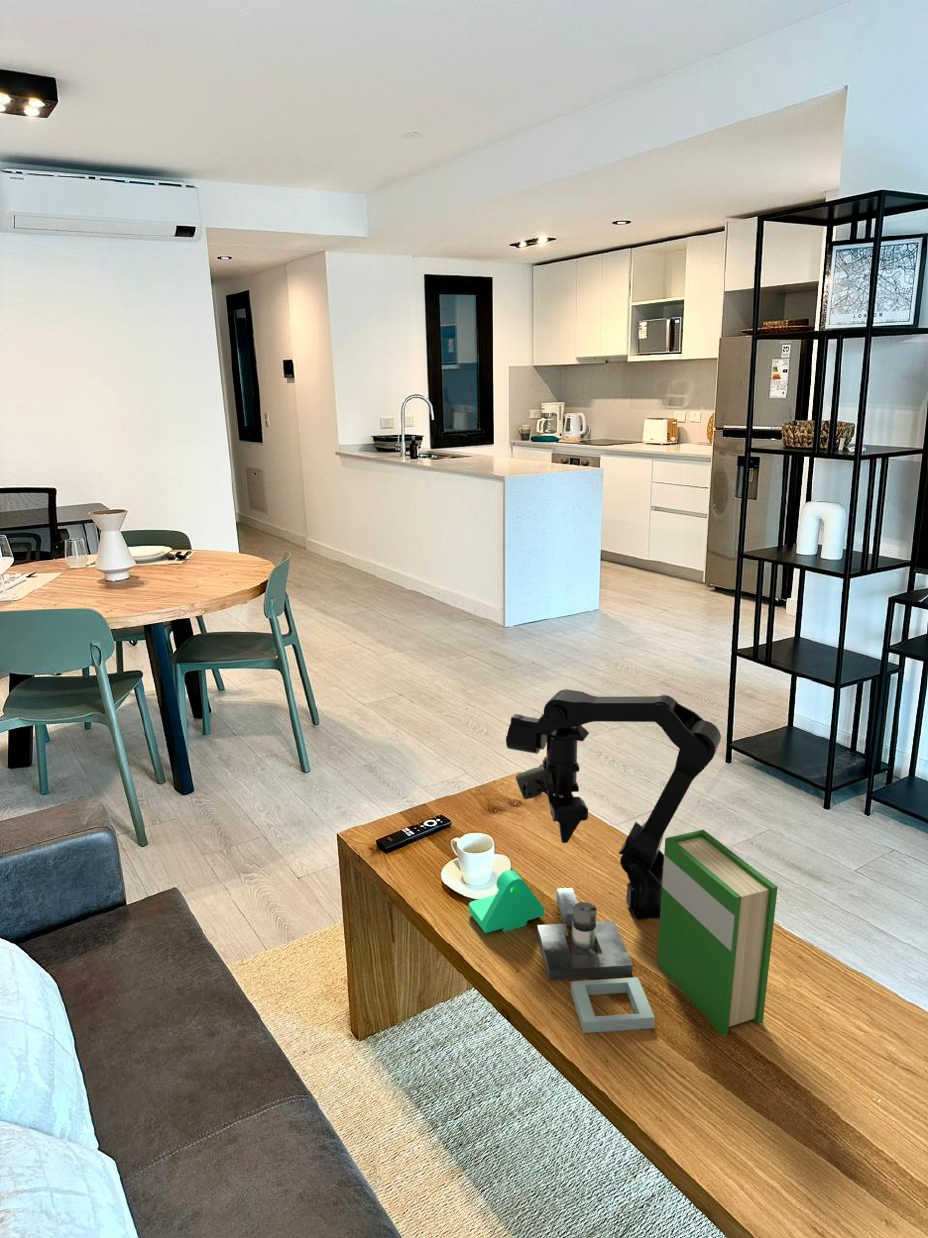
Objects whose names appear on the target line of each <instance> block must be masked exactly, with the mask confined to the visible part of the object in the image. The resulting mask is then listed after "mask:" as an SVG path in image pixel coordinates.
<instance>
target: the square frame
mask: <svg viewBox="0 0 928 1238" xmlns="http://www.w3.org/2000/svg"><path fill="white" fill-rule="evenodd" d="M570 993H571V997H572V1000H573V1003H574V1007H575V1011H576V1014H577V1016H578V1017H577V1018H578V1021H579V1023H580V1027H581V1030H582V1033H583V1034H588V1033H589V1034H590V1033H605V1032H615V1031H616V1032H619V1031H633V1030H635V1031H636V1030H646V1029H655V1019H656V1018H655V1015H654V1012H653V1010H652V1008H651V1005H650V1002H649V1001H648V998H647V996H646V993H645V991H644V988H643V985H642V984H641V981H640V979H639V977H635V976H634V977H622V978H608V979H607V978H606V979H605V978H604V979H590V980H577V981H576V980H574V981H570ZM611 994H613V995H614V994H627V996H628V1000H629V1001H630V1004H631V1006H632V1010H633V1012H634V1013H627V1014H626V1013H625V1014H615V1015H614V1014H613V1015H611V1014H610V1015H598V1016H596V1015H595V1012H594V1009H593V1007H592V1006H593V1005H592V1003H591V1000H590V997H589V996H598V995H611Z"/></svg>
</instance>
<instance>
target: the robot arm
mask: <svg viewBox="0 0 928 1238" xmlns="http://www.w3.org/2000/svg"><path fill="white" fill-rule="evenodd" d="M593 722H595V723H596V722H606V723H608V722H614V723H617V722H618V723H619V722H622V723H623V722H624V723H625V722H626V723H631V722H633V723H656V724H657V725H658V726H659V727H660V728H661V729H662V730H663V732H664V733H665V735H667V737H668V738H669V740H670V741H671V742H672V744H673V745H675V746H676V747H677V748H678V753H677V757H676V761H675V766H674V769H673V771H672V773H671V775H670V777H669V779H668V781H667V783H666V785H665V786H664V788H663V789H662V792H661V794H660V796H659V798H658V800H657V801H656V803H655V805H654V807H653V809H652V811H651V813H650V815H649V817H648V819H647V820H646V821H645V822H644V823H643V824H642V825H641V824H640V823H638V822H637V821H635V822H634V824H633V826H632V828H631V829H630V831H629V834H628V835H627V837H626V839H625V841H624V843H623V844H622V846H621V848H620V850H619V852H618V854H619V855H621V856H620V860H619V864H620V865H621V868H622V870H623V871H624V872H625V873H626V876H627V877H628V880H629V881H628V882H627V886H626V897H625V898H626V905H628V908H629V910H630V911H631V913H632V915H633V917H634V918H635V919H651V918H652V919H653V918H660V910H661V895H662V881H663V866H664V853H663V852H662V851H661V846H662V843H663V838H664V836H665V832H666V830H667V828H668V826H669V825H670V823H671V821H672V819H673V817H674V815H675V813H676V811H677V810H678V808H679V806H680V804H681V802H682V801H683V799H684V797H685V795H686V794H687V791H688V789H689V788H690V786H691V785H692V783H693V781H694V779H696V778H697V777H698V775H699V774H700V773H701V772H703V771H704V770H705V769H706V767H707V766H708V764H710V762H712V760H713V758H714V757H715V755H716V752H717V750H718V747H719V745H720V743H721V740H722V734H721V732H720V729H719V728H718V727H717V725H715V724H714V723H712V722H711V721H708V720H704V719H703V718H702V717H701V716H700V715H698V713H696V712H695V711H693V710H691V709H689V708H687V707H686V706H684V705H682V704H680V703H679V702H678V701H677V700H675V699H674V698H673V697H671V696H670V695H667V694H661V695H658V696H654V695H653V696H648V695H647V696H646V695H645V696H642V695H641V696H638V695H637V696H595V695H591V694H589V693H587V692H584V691H579V690H572V689H567V688H566V689H561V690H559V691H558V692H556V693H555V694H554V695H553V696H552V697H551V698H550V699H549V700H548V701H547V702H546V703H545V705H544V707H543V714H542V715H541V716H540V717H539V718H536V717H531V716H525V715H522V714H517V713H515V714H513V715H512V717H511V718H510V724H509V727H508V729H507V733H506V736H505V744H506V747H507V749H509V750H513V751H518V752H519V751H520V752H525V753H529V754H536V755H537V754H539V753H540V751H541V750H544V749H546V757H543V759H542V764H540V765H539V766H538V767H533V768H530V769H528V770H525V771H522V772H521V773H518V774H516V775H515V780H516V783H517V786H518V788H519V790H520V793H521V795H522V798H523V800H530V799H533V798H536V797H539V796H540V795H543V793H544V794H545V795H546V796H547V800H548V804H549V808H550V809H549V810H550V812H549V813H550V814H551V817H552V821H553V822H556V823H557V824H558V828H559V834H560V841H561V843H562V844H567V843H569V841H570V839H571V837H572V836H573V834H574V832H575V831H576V829H577V827H579V825H580V823H581V822H582V821H587V820H588V819H589V809H588V806H587V805H586V802H585V801H584V800H583V799H582V798H581V797H580V796H574V795H573V793H578V792H579V791H580V786H579V785H578V782H577V777H578V776H577V773H579V772H580V765H579V763H578V742H584V741H585V740H586V738H587V737H588V736H589V735H590V732H589V730H587V729H586V728H584V726H583V725H586V724H588V723H593Z"/></svg>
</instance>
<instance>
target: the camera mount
mask: <svg viewBox="0 0 928 1238" xmlns="http://www.w3.org/2000/svg"><path fill="white" fill-rule="evenodd" d="M496 888H497V892H496V894H493V895H490V896H486V897H483V898H480V899H475V900H473V901H470V902H469V904H468V908H469V909H468V910H469V911H468V912H469V914H470V915H471V916H472V918H473V919H474V921H476V923H477V924H478V926H479V927H480V928H481V929H482V930H483V932H484V933H485V934H487V933H491V932H495V931H498V930H502V931H503V932H504V933H505V932H508V931H512V930H515V929H519V928H521V927H524V926H525V927H526V926H527V925H528V921H531V920H535V919H537V918H540V917H543V916H545V907H544V906H543V905H542V903H541V902H540V901H539V899H538V898H537V896H536V895H535V893H534V892H533V891H532V890H531V888H530V887H529V886H528V884H527V882H525V880H524V879H523V878H522V877H521V876H520V875H519V874H518V873H517V872H516V871H515V870H512V869H507V870H504V871H503V872H501V873H500V875H499V876H498V877H497V879H496Z"/></svg>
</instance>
